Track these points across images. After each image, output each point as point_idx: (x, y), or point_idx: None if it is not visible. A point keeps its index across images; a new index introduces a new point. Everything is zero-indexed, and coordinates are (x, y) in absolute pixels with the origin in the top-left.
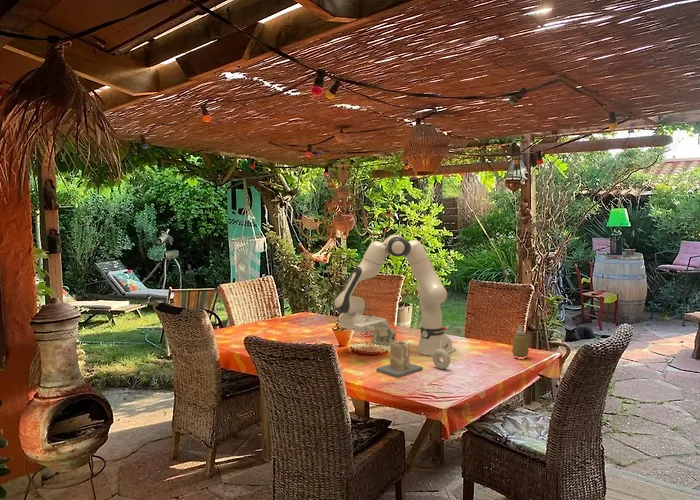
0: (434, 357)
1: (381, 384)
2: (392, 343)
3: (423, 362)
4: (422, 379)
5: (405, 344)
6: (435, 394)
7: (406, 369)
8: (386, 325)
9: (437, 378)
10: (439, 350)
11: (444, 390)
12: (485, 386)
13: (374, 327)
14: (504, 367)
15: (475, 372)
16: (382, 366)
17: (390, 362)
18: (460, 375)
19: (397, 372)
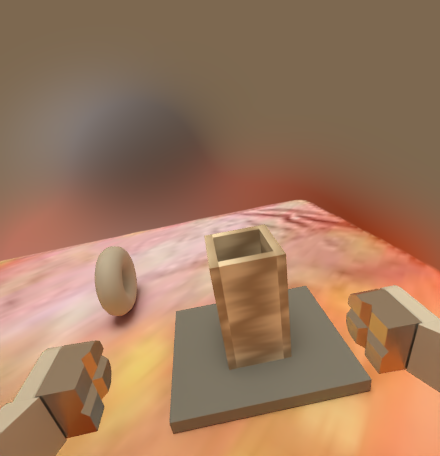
0: (123, 287)
1: (382, 274)
2: (278, 248)
3: None
4: None
5: (230, 231)
6: (278, 222)
7: None
8: (102, 351)
9: (208, 264)
10: (116, 252)
11: None
12: (176, 226)
13: (375, 290)
14: (33, 268)
15: None
16: (325, 387)
17: (290, 339)
18: (149, 263)
19: (295, 300)
